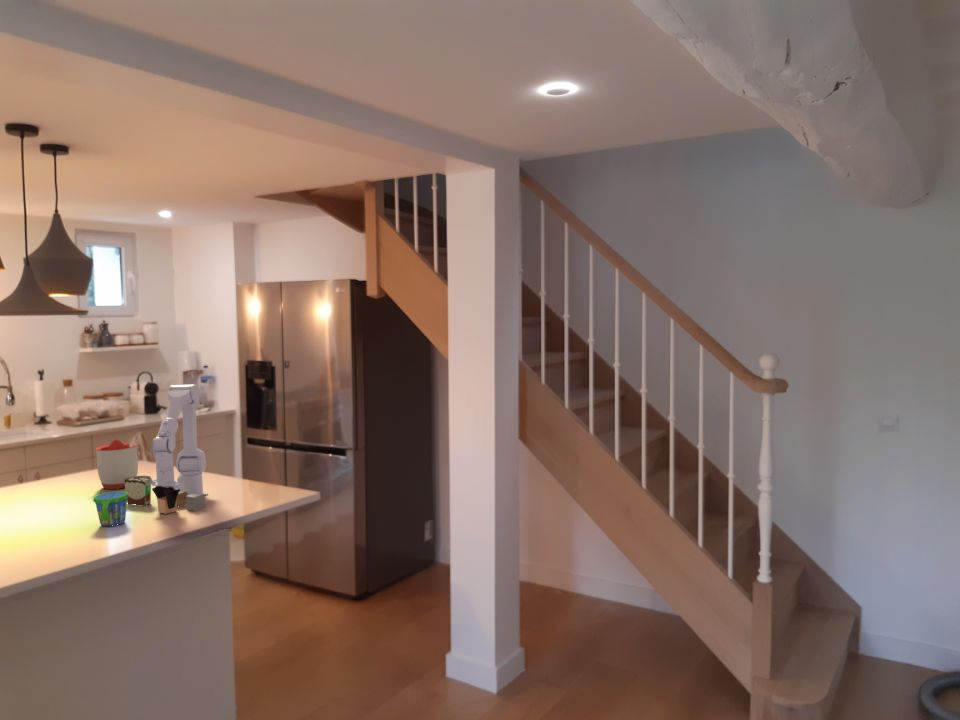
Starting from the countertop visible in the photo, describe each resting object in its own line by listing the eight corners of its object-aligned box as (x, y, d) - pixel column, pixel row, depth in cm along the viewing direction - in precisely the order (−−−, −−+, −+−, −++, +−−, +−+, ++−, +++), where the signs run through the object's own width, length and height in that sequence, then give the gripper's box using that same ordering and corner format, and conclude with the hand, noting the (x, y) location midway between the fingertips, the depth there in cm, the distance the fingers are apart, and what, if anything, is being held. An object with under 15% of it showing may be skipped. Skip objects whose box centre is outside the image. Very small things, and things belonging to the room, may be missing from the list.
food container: (161, 502, 276) (159, 476, 276) (148, 506, 271) (146, 480, 270) (138, 499, 282) (136, 474, 281) (124, 504, 276) (122, 477, 275)
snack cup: (119, 530, 243) (117, 500, 242) (86, 531, 242) (84, 501, 241) (137, 516, 258) (135, 488, 257) (106, 518, 257) (104, 489, 256)
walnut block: (170, 506, 271) (169, 492, 271) (180, 503, 275) (180, 490, 275) (177, 507, 269) (176, 494, 269) (188, 504, 273) (187, 491, 272)
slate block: (186, 509, 266) (185, 495, 266) (197, 506, 270) (196, 493, 269) (194, 511, 263) (193, 497, 263) (205, 508, 267) (204, 494, 267)
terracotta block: (158, 512, 262) (157, 498, 262) (169, 509, 266) (168, 495, 265) (165, 514, 260) (164, 500, 259) (177, 510, 263) (176, 497, 263)
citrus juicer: (151, 483, 309) (148, 436, 307) (112, 492, 294) (108, 443, 292) (129, 479, 317) (126, 433, 315) (90, 488, 302) (86, 440, 301)
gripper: (142, 470, 262) (145, 507, 263) (167, 474, 254) (169, 512, 255) (160, 466, 268) (163, 502, 269) (185, 470, 260) (187, 507, 261)
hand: (167, 507), depth 263 cm, fingers closed on terracotta block, 4 cm apart
